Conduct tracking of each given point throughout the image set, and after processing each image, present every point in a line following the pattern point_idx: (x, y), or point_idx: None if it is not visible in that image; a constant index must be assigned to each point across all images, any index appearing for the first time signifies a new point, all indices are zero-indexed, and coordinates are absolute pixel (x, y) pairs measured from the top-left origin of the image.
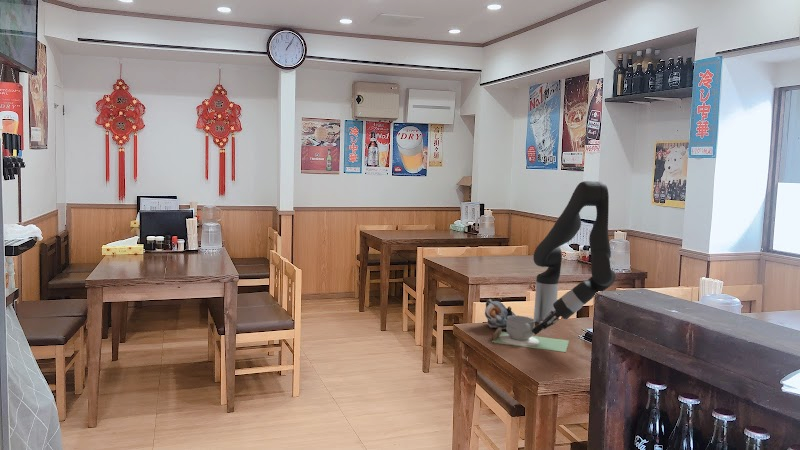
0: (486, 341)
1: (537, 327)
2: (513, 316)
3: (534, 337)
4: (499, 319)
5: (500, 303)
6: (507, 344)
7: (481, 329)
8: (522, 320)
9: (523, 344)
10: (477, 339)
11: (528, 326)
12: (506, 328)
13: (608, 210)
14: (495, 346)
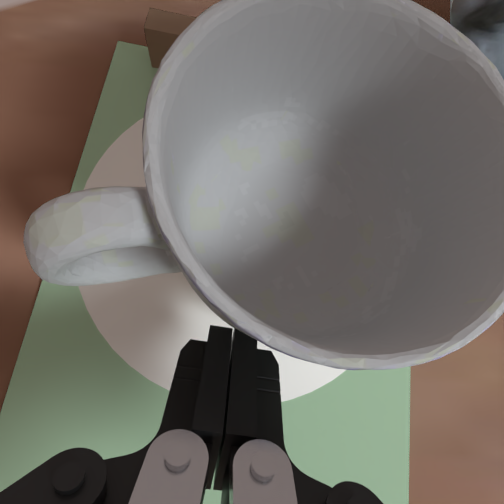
0: (136, 15)
1: (167, 399)
2: (474, 74)
3: None
4: (451, 4)
5: None
6: (88, 141)
7: (423, 6)
8: (482, 205)
9: None
10: None
11: (27, 247)
12: (287, 85)
13: None
14: (16, 60)
